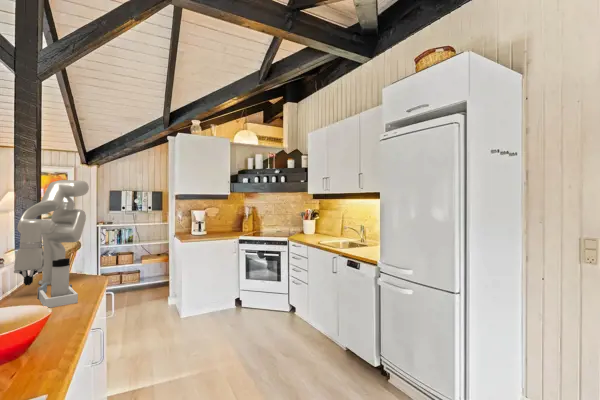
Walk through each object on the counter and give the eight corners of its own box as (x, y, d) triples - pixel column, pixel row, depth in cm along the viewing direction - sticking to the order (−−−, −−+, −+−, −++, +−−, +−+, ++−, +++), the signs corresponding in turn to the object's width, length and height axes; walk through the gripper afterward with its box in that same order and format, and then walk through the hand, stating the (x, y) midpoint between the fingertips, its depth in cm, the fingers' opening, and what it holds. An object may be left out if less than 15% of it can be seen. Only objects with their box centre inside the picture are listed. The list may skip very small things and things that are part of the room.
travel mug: (58, 305, 133) (60, 260, 133) (46, 303, 134) (48, 258, 134) (72, 300, 139) (73, 257, 139) (60, 299, 141) (62, 256, 141)
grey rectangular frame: (38, 298, 141) (38, 288, 141) (71, 292, 150) (71, 284, 150) (45, 308, 128) (45, 298, 128) (80, 302, 138) (80, 292, 138)
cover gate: (36, 299, 140) (37, 288, 140) (43, 292, 149) (44, 281, 149) (40, 298, 140) (41, 287, 140) (47, 292, 150) (47, 281, 150)
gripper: (52, 244, 151) (50, 281, 150) (12, 245, 144) (10, 284, 143) (48, 246, 144) (45, 285, 143) (6, 247, 137) (3, 288, 136)
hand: (28, 284), depth 143 cm, fingers closed
